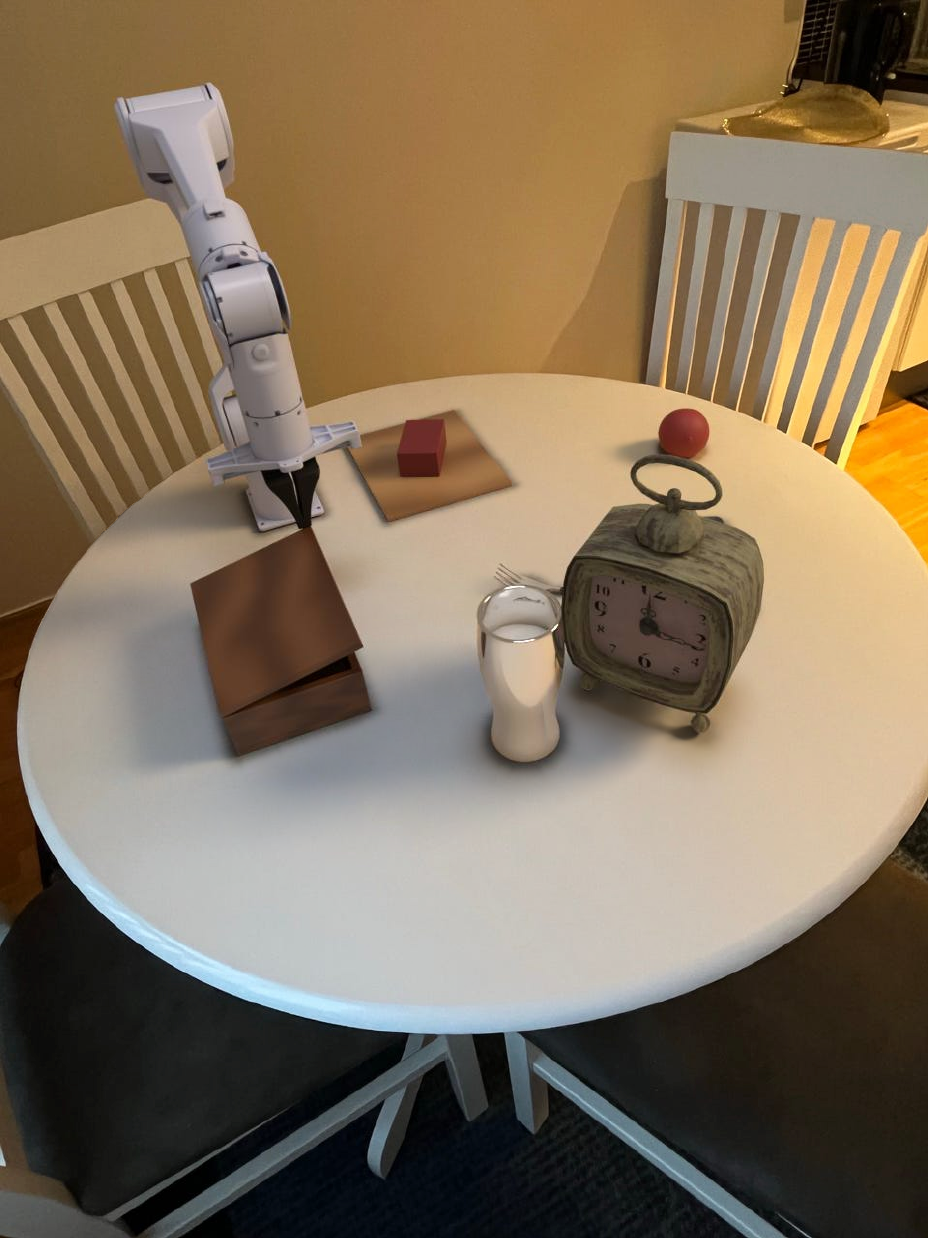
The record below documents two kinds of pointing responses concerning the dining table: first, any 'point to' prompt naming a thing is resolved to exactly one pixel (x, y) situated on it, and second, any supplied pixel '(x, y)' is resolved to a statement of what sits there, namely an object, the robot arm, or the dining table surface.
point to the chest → (301, 706)
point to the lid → (271, 620)
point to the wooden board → (404, 496)
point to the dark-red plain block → (422, 448)
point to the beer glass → (522, 668)
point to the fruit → (683, 433)
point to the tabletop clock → (663, 599)
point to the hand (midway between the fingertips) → (303, 522)
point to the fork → (525, 580)
